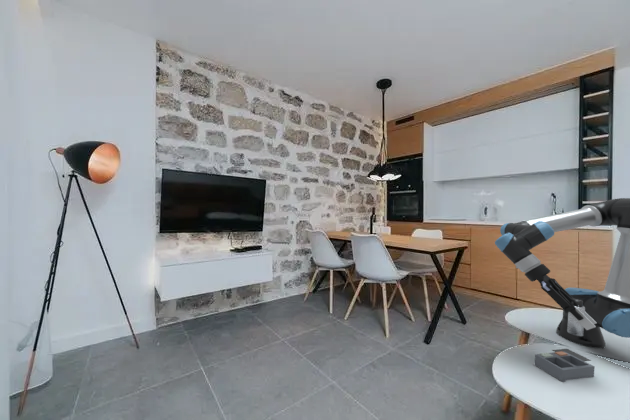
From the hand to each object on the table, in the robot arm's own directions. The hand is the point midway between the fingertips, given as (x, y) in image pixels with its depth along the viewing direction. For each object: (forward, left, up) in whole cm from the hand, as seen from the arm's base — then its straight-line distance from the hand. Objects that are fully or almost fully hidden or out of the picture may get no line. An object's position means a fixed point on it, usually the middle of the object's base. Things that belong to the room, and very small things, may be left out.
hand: (591, 326), depth 87 cm
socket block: (+5, -4, -18) cm, 19 cm away
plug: (+2, -3, -4) cm, 6 cm away
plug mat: (-9, -11, -18) cm, 23 cm away
